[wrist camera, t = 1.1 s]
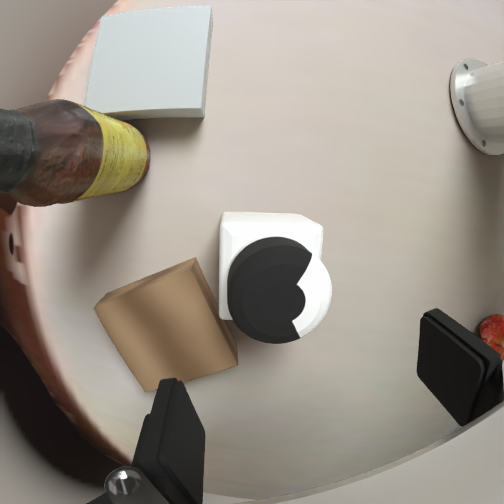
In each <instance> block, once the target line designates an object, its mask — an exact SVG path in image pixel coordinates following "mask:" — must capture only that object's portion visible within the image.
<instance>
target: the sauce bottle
mask: <svg viewBox="0 0 504 504" xmlns="http://www.w3.org/2000/svg"><path fill="white" fill-rule="evenodd" d="M149 162H150V149H149V144H148V142H147V140H146V138H145V137H144V136H143V135H142V134H141V133H140V132H139V131H138V130H137V129H136V128H135V127H133V126H132V125H130V124H128V123H125V122H123V121H120V120H118V119H115V118H113V117H111V116H109V115H105V114H103V113H101V112H98V111H96V110H93V109H90V108H87V107H85V106H82V105H80V104H77V103H74V102H71V101H67V100H61V99H56V100H49V101H46V102H42V103H38V104H34V105H30V106H26V107H23V108H19V109H16V110H4V109H0V193H7V192H8V193H9V194H10V196H11V197H13V198H14V199H15V200H16V201H17V202H19V203H21V204H24V205H29V206H34V207H42V206H43V207H45V206H48V205H53V204H56V203H58V204H65V203H70V202H75V201H79V200H84V199H89V198H94V197H98V196H103V195H108V194H113V193H119V192H121V191H124V190H128V189H130V188H132V187H133V186H134V185H136V184H137V183H138V182H139V181H140V180H141V178H142V177H143V176H144V174H145V173H146V171H147V170H148V167H149Z"/></svg>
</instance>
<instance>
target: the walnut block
mask: <svg viewBox="0 0 504 504" xmlns="http://www.w3.org/2000/svg"><path fill="white" fill-rule="evenodd" d="M94 310H95V312H96V314H97V316H98V317H99V319H100V321H101V323H102V324H103V326H104V328H105V330H106V331H107V333H108V335H109V337H110V338H111V340H112V342H113V343H114V345H115V347H116V348H117V350H118V351H119V353H120V355H121V356H122V358H123V359H124V361H125V362H126V364H127V366H128V367H129V369H130V370H131V372H132V373H133V375H134V376H135V378H136V379H137V381H138V382H139V384H140V385H141V386H142V388H143V389H144V391H145V392H149V391H153V390H157V389H158V385H159V382H160V380H161V379H167V378H176V379H177V380H178V381H182V382H186V381H190V380H193V379H196V378H200V377H203V376H206V375H210V374H213V373H216V372H219V371H222V370H225V369H228V368H231V367H234V366H237V365H238V358H237V345H236V343H235V341H234V339H233V337H232V335H231V333H230V331H229V328H228V326H227V324H226V322H225V320H223V319H221V318H220V317H219V307H218V305H217V303H216V301H215V299H214V297H213V295H212V292H211V290H210V288H209V286H208V284H207V281H206V279H205V277H204V275H203V273H202V270H201V268H200V266H199V264H198V261H197V259H196V257H195V258H192V259H190V260H187V261H185V262H182V263H180V264H177V265H175V266H172V267H170V268H167V269H165V270H163V271H160V272H158V273H155V274H153V275H150V276H148V277H145V278H143V279H141V280H138V281H136V282H133V283H131V284H128V285H126V286H124V287H121V288H119V289H116V290H114V291H111V292H109V293H107V294H106V295H105V296H104V297H103V298H102V299H101V300H100V301H99V302H98V303H97V304H96V305H95V307H94Z"/></svg>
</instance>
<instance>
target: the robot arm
mask: <svg viewBox="0 0 504 504" xmlns="http://www.w3.org/2000/svg"><path fill="white" fill-rule="evenodd" d="M450 90H451V98H452V103H453V107H454V111H455V114H456V117H457V119H458V121H459V124H460V126H461V128H462V129H463V131H464V133H465V135H466V136H467V138H468V139H469V140H470V142H471V143H472V144H473V145H474V146H475V147H476V148H477V149H478V150H480V151H481V152H483V153H485V154H488V155H501V154H503V153H504V61H500V62H497V63H494V64H490V65H487V64H486V63H484V62H482V61H481V60H478V59H474V58H468V59H465V60H462V61H460V62H459V63H458V64H457V65H456V66H455V67H454V69H453V71H452V75H451V82H450ZM500 356H501V354H500V353H498V352H497V351H496V350H494V349H493V348H492V347H490V346H489V345H488V344H486V343H485V342H484V341H482V340H481V339H480V338H478V337H477V336H476V335H474V334H473V333H472V332H470V331H469V330H467V329H466V328H465V327H463V326H462V325H461V324H459V323H458V322H456V321H455V320H454V319H452V318H451V317H449V316H448V315H447V314H445V313H444V312H442V311H441V310H439V309H437V308H435V309H433V310H430V311H428V312H425V313H424V315H423V317H422V318H421V320H420V336H419V351H418V362H417V375H418V377H419V378H420V380H421V381H422V382H423V383H424V384H425V385H426V386H427V388H428V389H429V390H430V391H431V392H432V393H433V394H434V396H435V397H436V398H437V399H438V400H439V401H440V403H441V404H442V405H443V406H444V407H445V408H446V410H447V411H448V412H449V413H450V414H451V416H452V417H453V418H454V419H455V420H456V422H457V423H458V424H459V425H460V426H464V427H462V428H460V429H458V430H457V431H455V432H453V433H451V434H450V435H448V436H446V437H444V438H442V439H440V440H439V441H437V442H435V443H433V444H431V445H429V446H427V447H425V448H423V449H421V450H418V451H416V452H414V453H412V454H410V455H408V456H405V457H403V458H401V459H399V460H396V461H394V462H392V463H389V464H387V465H384V466H382V467H379V468H376V469H374V470H371V471H368V472H366V473H363V474H360V475H357V476H354V477H351V478H348V479H345V480H342V481H339V482H335V483H332V484H328V485H325V486H321V487H318V488H314V489H310V490H306V491H302V492H298V493H293V494H289V495H284V496H279V497H273V498H268V499H262V500H256V501H250V502H243V503H235V504H504V360H503V361H502V360H501V359H500ZM204 453H205V431H204V428H203V425H202V423H201V421H200V419H199V417H198V415H197V413H196V411H195V408H194V406H193V404H192V402H191V400H190V397H189V395H188V393H187V391H186V388H185V386H184V384H183V382H182V381H178V380H177V379H176V378H167V379H161V380H160V382H159V385H158V389H157V392H156V395H155V399H154V403H153V406H152V410H151V413H150V414H147V415H146V417H145V419H144V422H143V426H142V429H141V433H140V436H139V440H138V443H137V447H136V451H135V454H134V458H133V462H132V466H131V467H130V466H126V467H120V468H118V469H116V470H114V471H113V472H111V473H110V474H109V476H108V477H107V479H106V481H105V490H106V493H104V494H102V495H101V496H99V497H97V498H96V499H94V500H92V501H91V502H89V503H87V504H202V501H203V499H202V498H203V475H204Z"/></svg>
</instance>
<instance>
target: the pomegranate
mask: <svg viewBox="0 0 504 504" xmlns="http://www.w3.org/2000/svg"><path fill="white" fill-rule="evenodd" d="M479 329H480V335H481V340H482V341H484V342H485V343H486V344H488V345H489V346H490V347H492V348H493V349H494V350H496V351H497V352H498V353H500V354H501V356H500V359H501V360H502V361H503V360H504V316H501V315H497V314H496V315H491V316H489V317H487V318H486V319H485V320H483V321H482V322H481V324H480V325H479Z"/></svg>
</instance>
